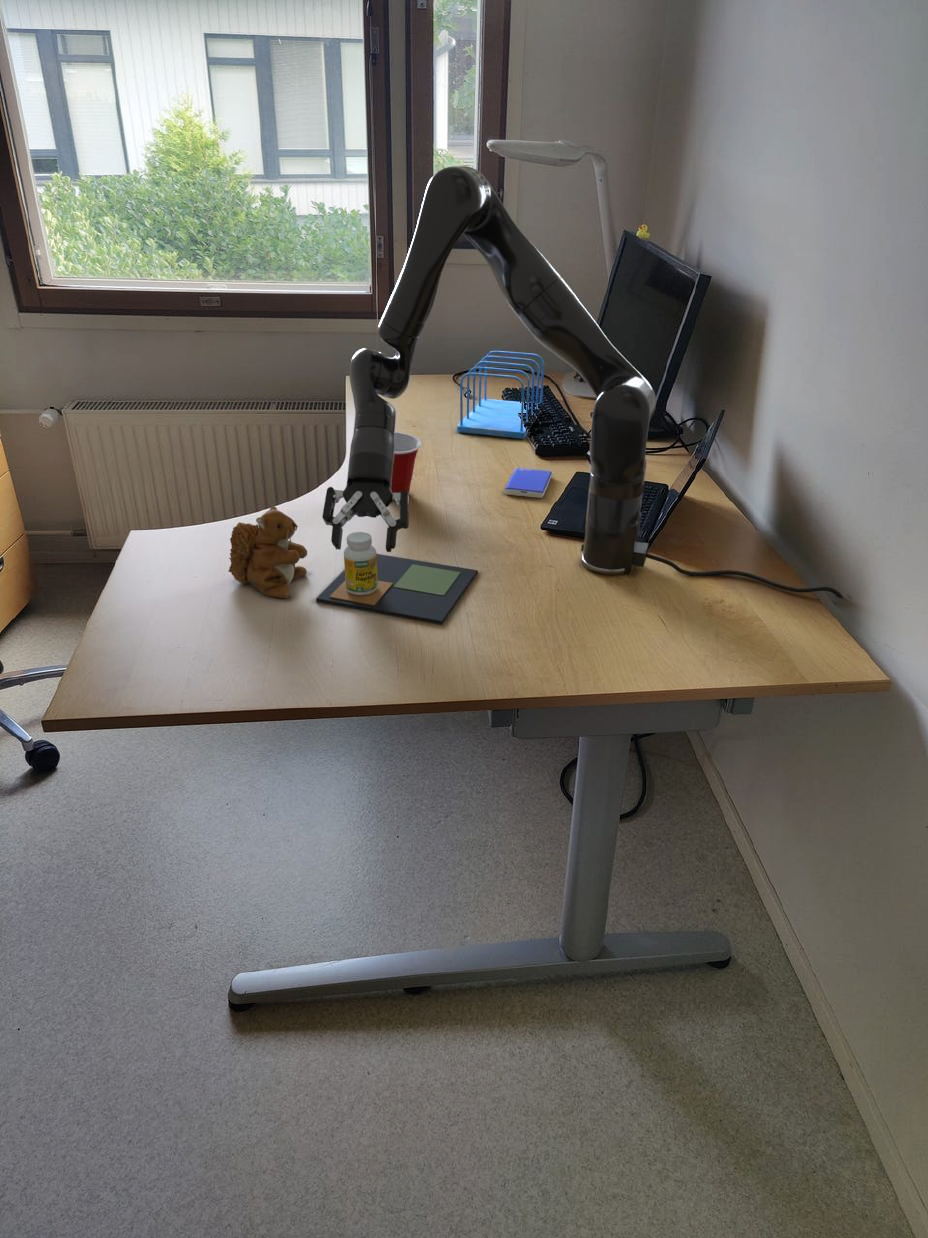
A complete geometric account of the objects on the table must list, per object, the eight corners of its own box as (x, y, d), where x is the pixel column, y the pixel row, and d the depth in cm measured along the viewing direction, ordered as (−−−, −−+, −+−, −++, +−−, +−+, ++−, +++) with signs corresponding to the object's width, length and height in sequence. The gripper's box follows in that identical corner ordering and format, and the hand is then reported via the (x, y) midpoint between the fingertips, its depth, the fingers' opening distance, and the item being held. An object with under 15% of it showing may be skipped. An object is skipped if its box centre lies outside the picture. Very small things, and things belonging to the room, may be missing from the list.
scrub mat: (477, 573, 156) (477, 569, 156) (441, 624, 141) (442, 620, 140) (362, 554, 162) (362, 550, 162) (316, 601, 146) (315, 597, 146)
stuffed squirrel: (291, 601, 146) (284, 527, 140) (215, 588, 150) (205, 516, 143) (317, 575, 155) (312, 504, 148) (244, 563, 158) (236, 494, 152)
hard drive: (515, 467, 198) (504, 487, 188) (552, 470, 196) (543, 491, 186) (515, 474, 199) (504, 494, 188) (551, 477, 197) (542, 498, 187)
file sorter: (482, 405, 244) (484, 348, 236) (544, 411, 240) (548, 353, 232) (456, 432, 223) (457, 371, 216) (524, 440, 219) (527, 377, 212)
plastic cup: (390, 509, 180) (389, 452, 174) (359, 493, 187) (357, 438, 181) (431, 496, 187) (432, 441, 181) (400, 481, 194) (399, 428, 188)
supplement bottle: (368, 578, 152) (366, 527, 147) (383, 591, 148) (382, 539, 143) (340, 586, 149) (337, 534, 145) (354, 599, 146) (352, 546, 141)
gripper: (326, 448, 148) (316, 539, 144) (410, 451, 148) (403, 543, 144) (334, 467, 156) (324, 554, 152) (414, 470, 155) (407, 558, 151)
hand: (363, 549), depth 148 cm, fingers open, 8 cm apart
